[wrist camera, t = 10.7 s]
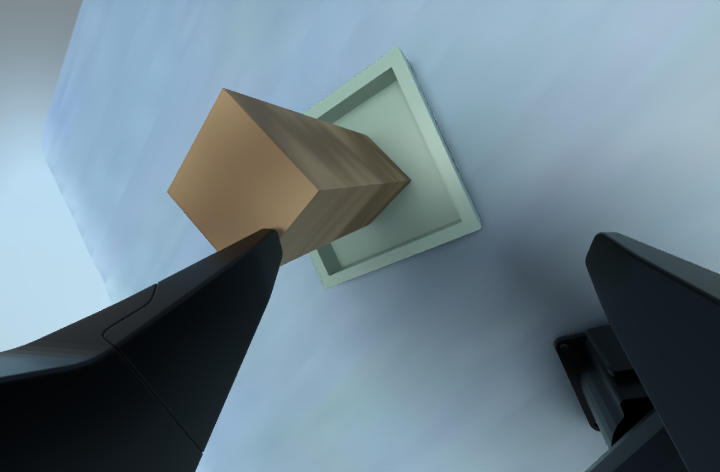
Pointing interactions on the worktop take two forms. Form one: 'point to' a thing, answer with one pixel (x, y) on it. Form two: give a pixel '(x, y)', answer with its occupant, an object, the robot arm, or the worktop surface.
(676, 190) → the worktop surface
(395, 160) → the tray
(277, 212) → the walnut post
